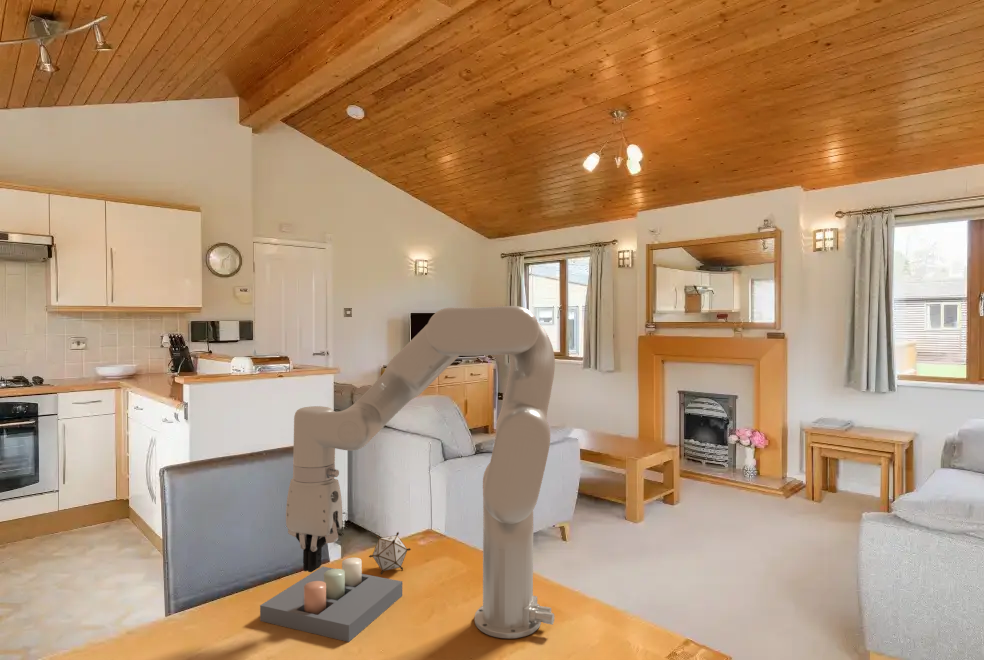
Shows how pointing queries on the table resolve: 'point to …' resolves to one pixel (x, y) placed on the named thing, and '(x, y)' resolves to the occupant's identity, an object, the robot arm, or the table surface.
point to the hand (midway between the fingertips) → (312, 568)
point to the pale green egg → (335, 583)
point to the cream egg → (352, 571)
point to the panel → (333, 607)
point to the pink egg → (315, 597)
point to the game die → (389, 553)
